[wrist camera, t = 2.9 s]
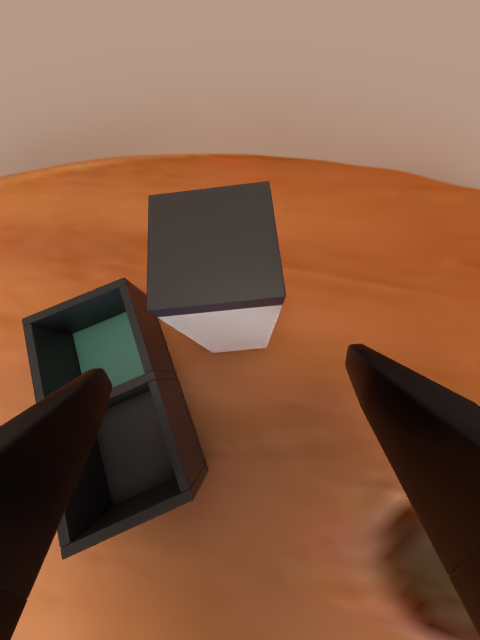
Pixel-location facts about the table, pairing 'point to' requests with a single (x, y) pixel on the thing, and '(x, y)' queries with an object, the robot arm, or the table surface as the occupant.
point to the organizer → (118, 412)
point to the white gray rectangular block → (216, 265)
